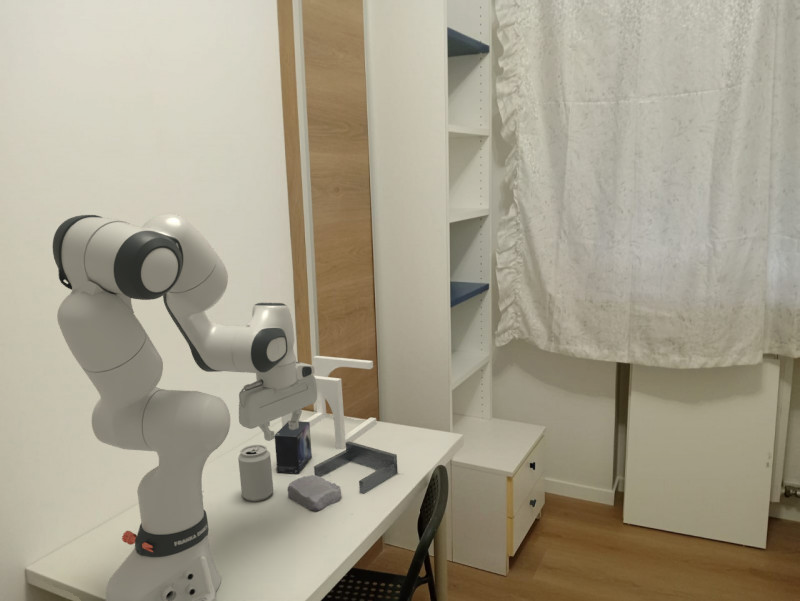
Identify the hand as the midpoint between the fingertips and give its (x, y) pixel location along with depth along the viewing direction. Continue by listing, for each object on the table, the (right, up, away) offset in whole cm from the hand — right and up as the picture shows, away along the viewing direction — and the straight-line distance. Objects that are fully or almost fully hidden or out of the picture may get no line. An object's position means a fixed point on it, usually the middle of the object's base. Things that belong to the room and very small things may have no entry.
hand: (282, 434), depth 151 cm
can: (-8, -18, +13) cm, 24 cm away
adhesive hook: (-21, -19, +14) cm, 32 cm away
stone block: (+7, -18, +11) cm, 22 cm away
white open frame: (+6, -10, +51) cm, 52 cm away
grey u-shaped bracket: (+15, -15, +21) cm, 30 cm away
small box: (-2, -14, +29) cm, 33 cm away
